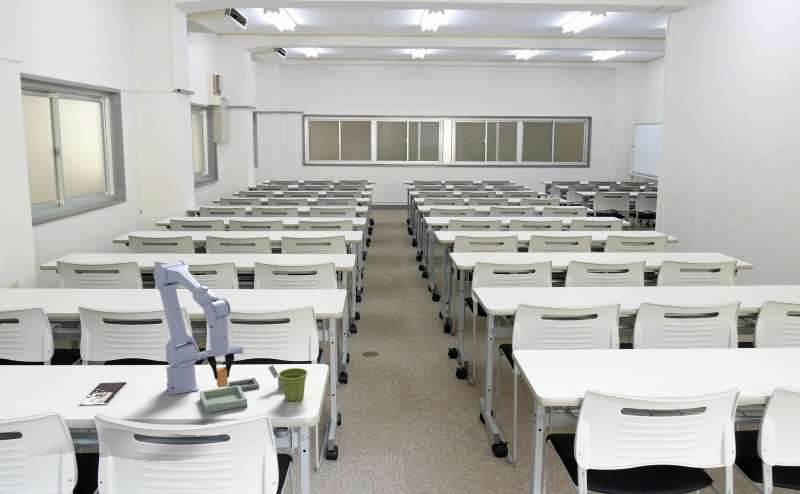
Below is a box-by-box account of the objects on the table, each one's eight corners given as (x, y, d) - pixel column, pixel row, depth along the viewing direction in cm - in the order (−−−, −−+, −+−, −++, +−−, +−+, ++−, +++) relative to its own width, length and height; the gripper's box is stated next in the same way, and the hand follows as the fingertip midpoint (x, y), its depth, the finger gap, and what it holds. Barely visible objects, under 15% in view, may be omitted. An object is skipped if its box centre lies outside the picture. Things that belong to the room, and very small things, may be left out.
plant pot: (295, 406, 221) (294, 380, 219) (273, 400, 226) (272, 375, 224) (314, 396, 229) (313, 371, 227) (292, 390, 233) (291, 366, 232)
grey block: (291, 386, 237) (289, 364, 236) (290, 388, 236) (289, 365, 234) (270, 386, 237) (269, 364, 235) (269, 388, 235) (268, 366, 234)
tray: (205, 414, 216) (205, 406, 215) (200, 399, 227) (199, 391, 227) (247, 406, 221) (246, 399, 220) (239, 392, 232) (239, 385, 232)
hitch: (231, 392, 232) (231, 389, 232) (228, 385, 239) (228, 382, 238) (259, 388, 236) (258, 384, 236) (255, 381, 242) (254, 377, 242)
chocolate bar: (126, 382, 242) (107, 403, 224) (126, 384, 242) (107, 405, 224) (100, 383, 242) (78, 404, 224) (100, 385, 242) (79, 406, 224)
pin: (218, 387, 221) (217, 371, 220) (216, 384, 224) (215, 368, 223) (227, 386, 222) (226, 370, 221) (226, 382, 225) (225, 366, 224)
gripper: (197, 344, 214) (200, 385, 216) (244, 337, 219) (246, 377, 222) (194, 337, 220) (197, 377, 222) (240, 331, 225) (242, 370, 228)
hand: (221, 377), depth 222 cm, fingers closed on pin, 3 cm apart
